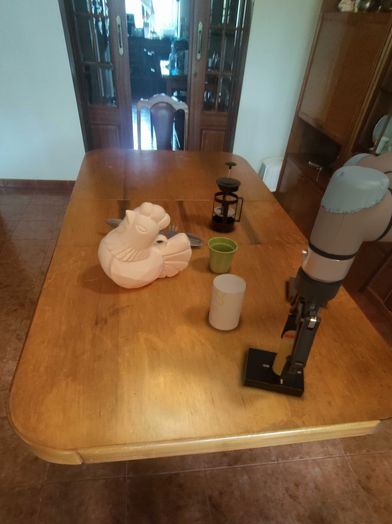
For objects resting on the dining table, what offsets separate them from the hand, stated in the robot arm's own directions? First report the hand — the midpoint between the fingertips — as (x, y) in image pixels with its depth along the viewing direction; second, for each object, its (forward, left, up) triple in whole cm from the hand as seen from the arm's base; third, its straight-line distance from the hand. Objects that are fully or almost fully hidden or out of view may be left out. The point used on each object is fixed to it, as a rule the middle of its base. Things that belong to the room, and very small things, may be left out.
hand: (286, 357), depth 69 cm
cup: (+15, -16, -7) cm, 23 cm away
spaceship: (+45, -51, -7) cm, 69 cm away
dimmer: (+1, 0, -7) cm, 7 cm away
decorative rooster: (+40, -27, -7) cm, 49 cm away
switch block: (-8, -35, -7) cm, 36 cm away
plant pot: (+20, -41, -7) cm, 46 cm away
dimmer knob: (0, 0, -4) cm, 4 cm away
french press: (+23, -71, -7) cm, 75 cm away
